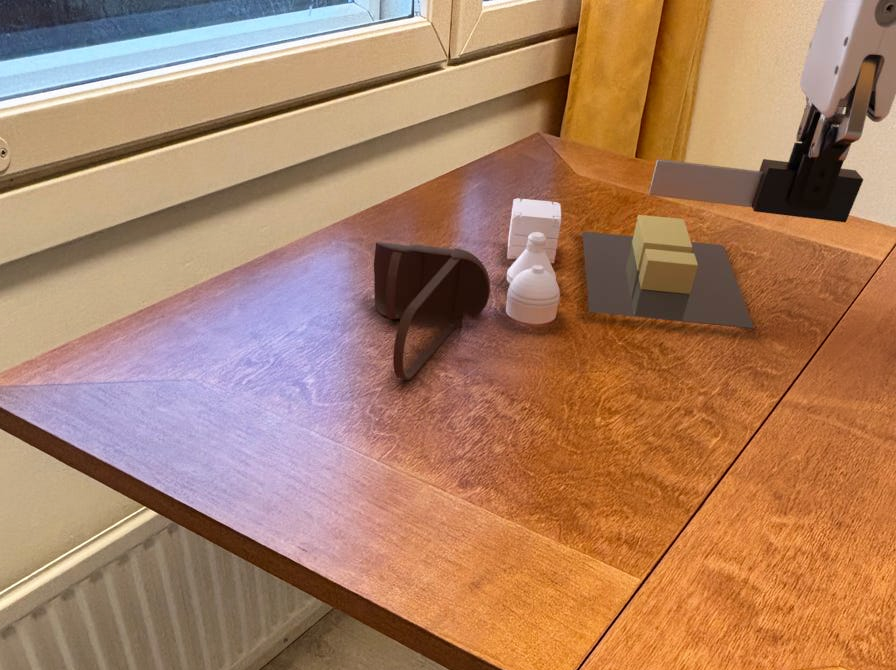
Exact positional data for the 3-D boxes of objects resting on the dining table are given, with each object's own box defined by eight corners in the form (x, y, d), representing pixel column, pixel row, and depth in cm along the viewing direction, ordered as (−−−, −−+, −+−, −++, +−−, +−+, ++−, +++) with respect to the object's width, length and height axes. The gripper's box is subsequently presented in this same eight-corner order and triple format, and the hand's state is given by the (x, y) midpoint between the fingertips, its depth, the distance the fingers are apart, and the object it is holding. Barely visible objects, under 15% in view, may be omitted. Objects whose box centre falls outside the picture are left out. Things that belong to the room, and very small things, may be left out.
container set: (505, 249, 98) (512, 196, 95) (552, 254, 98) (561, 201, 94) (501, 331, 84) (509, 273, 80) (556, 336, 84) (567, 279, 80)
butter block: (676, 246, 99) (684, 218, 97) (684, 276, 94) (692, 247, 92) (631, 242, 99) (638, 214, 97) (637, 271, 94) (644, 242, 92)
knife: (838, 212, 78) (856, 170, 76) (846, 222, 76) (863, 179, 74) (647, 189, 78) (658, 146, 76) (650, 199, 76) (661, 154, 74)
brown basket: (373, 297, 88) (375, 225, 83) (490, 313, 87) (498, 241, 82) (327, 386, 75) (327, 307, 70) (463, 406, 74) (472, 327, 69)
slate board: (720, 253, 101) (723, 244, 101) (751, 338, 86) (754, 328, 86) (580, 239, 102) (582, 230, 101) (586, 321, 87) (588, 311, 86)
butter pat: (686, 282, 92) (694, 253, 90) (689, 294, 90) (698, 265, 88) (638, 277, 93) (645, 248, 91) (640, 289, 91) (647, 259, 88)
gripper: (989, -48, 58) (871, 241, 71) (911, -80, 69) (822, 174, 82) (874, -58, 58) (777, 233, 71) (815, -88, 69) (741, 167, 82)
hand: (802, 199), depth 77 cm, fingers closed on knife, 2 cm apart
